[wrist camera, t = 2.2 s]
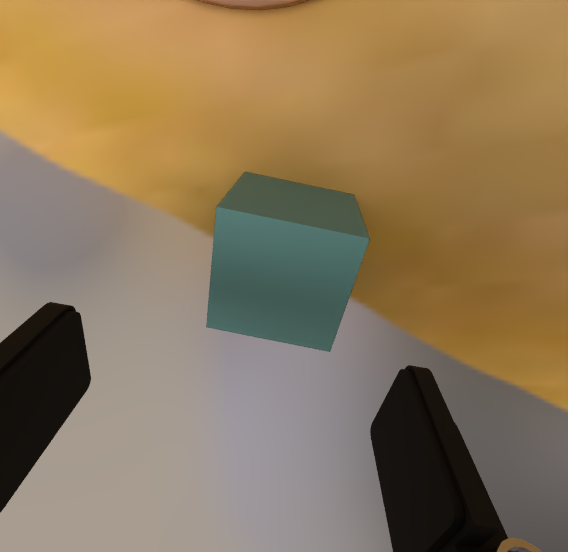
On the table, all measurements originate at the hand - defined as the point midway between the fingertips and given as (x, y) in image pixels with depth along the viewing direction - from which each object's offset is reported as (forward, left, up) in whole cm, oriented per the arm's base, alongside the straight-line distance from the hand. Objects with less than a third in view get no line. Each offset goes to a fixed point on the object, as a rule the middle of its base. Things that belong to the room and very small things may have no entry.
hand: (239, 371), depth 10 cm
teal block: (-1, 0, -11) cm, 11 cm away
